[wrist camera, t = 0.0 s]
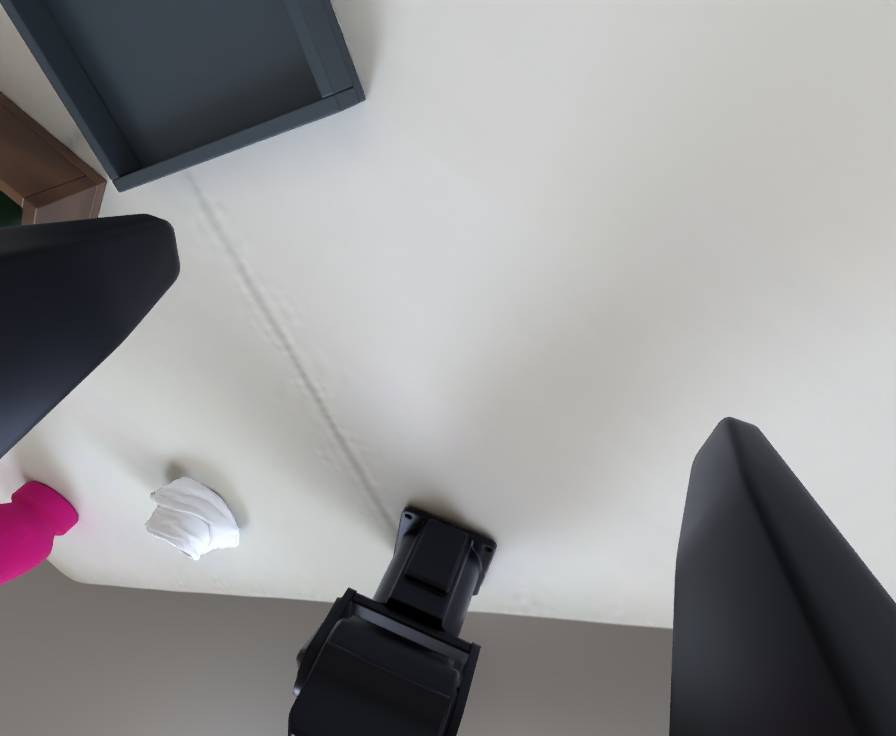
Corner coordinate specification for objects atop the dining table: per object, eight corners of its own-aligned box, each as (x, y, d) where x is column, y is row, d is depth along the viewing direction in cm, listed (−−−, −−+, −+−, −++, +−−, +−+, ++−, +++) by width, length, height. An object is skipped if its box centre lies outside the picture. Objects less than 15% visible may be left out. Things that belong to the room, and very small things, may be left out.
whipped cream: (264, 514, 45) (232, 564, 41) (230, 543, 49) (199, 592, 45) (180, 458, 43) (138, 505, 39) (152, 493, 47) (112, 539, 43)
